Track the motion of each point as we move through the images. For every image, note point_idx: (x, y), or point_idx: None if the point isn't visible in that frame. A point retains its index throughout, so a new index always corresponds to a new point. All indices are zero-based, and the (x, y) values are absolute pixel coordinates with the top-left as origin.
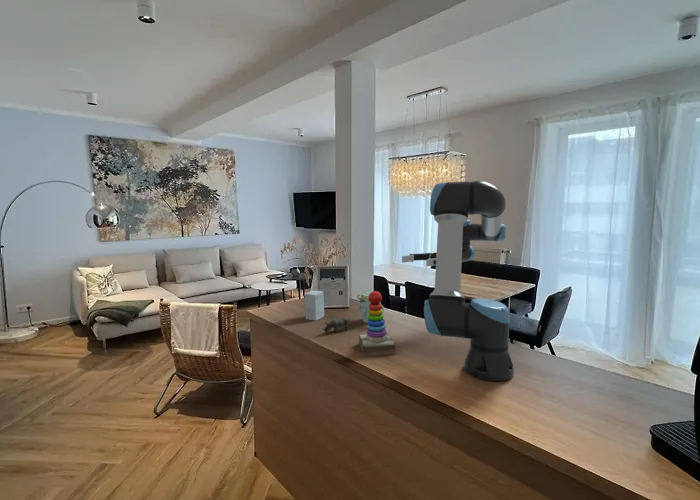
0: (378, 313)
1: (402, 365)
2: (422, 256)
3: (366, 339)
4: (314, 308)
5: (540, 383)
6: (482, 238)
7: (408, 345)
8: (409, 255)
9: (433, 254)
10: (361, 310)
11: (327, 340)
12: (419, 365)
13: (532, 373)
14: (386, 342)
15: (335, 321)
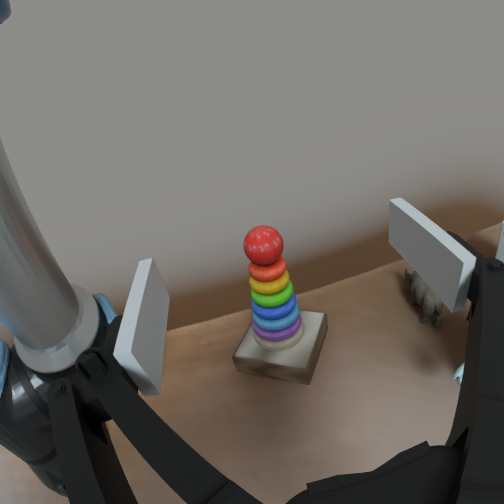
0: (249, 279)
1: (189, 360)
2: (473, 355)
3: None
4: (497, 251)
5: (14, 471)
6: None
7: (264, 417)
8: (428, 231)
9: (453, 487)
10: None
11: (370, 285)
12: (168, 383)
13: (26, 496)
14: (250, 344)
15: (416, 280)
